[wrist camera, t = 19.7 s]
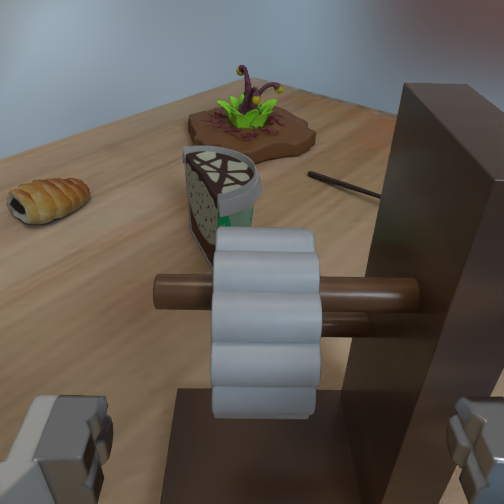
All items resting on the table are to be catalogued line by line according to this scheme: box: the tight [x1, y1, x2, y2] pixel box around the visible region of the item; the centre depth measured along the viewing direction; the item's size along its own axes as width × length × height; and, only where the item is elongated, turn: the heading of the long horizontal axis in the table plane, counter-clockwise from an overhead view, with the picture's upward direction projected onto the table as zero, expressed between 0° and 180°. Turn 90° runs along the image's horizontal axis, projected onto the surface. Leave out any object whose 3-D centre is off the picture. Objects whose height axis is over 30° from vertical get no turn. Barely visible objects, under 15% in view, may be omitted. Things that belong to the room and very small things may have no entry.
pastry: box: [7, 178, 90, 225], centre depth 58 cm, size 9×7×4 cm
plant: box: [188, 65, 316, 164], centre depth 76 cm, size 20×20×11 cm
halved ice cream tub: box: [183, 146, 261, 271], centre depth 50 cm, size 12×6×10 cm, turn 22°
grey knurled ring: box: [211, 227, 322, 419], centre depth 21 cm, size 4×8×8 cm, turn 0°
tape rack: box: [153, 83, 504, 504], centre depth 24 cm, size 15×12×24 cm
